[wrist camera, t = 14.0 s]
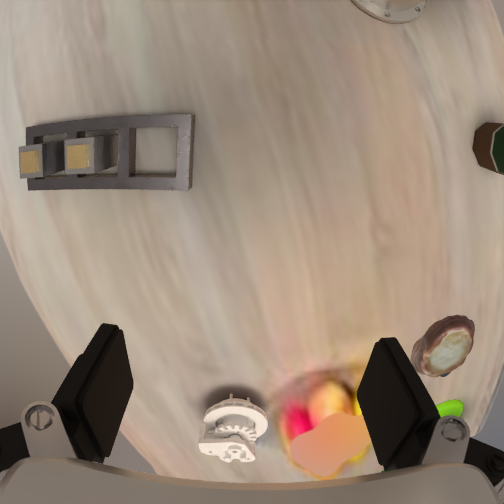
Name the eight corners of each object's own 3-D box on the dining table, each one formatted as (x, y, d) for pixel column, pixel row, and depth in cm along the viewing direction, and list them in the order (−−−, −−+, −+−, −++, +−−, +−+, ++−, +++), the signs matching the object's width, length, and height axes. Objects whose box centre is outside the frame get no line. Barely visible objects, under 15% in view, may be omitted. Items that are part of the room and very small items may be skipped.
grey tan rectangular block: (48, 141, 35) (16, 147, 28) (70, 139, 35) (39, 144, 28) (49, 169, 37) (17, 179, 30) (70, 168, 37) (40, 177, 30)
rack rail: (37, 186, 38) (28, 190, 35) (35, 126, 34) (26, 127, 32) (191, 187, 38) (188, 190, 36) (194, 115, 35) (191, 114, 33)
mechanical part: (275, 391, 52) (280, 444, 41) (252, 427, 56) (253, 476, 45) (213, 376, 50) (207, 431, 39) (197, 415, 54) (190, 465, 43)
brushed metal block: (91, 136, 35) (61, 140, 28) (118, 134, 36) (91, 137, 29) (91, 165, 37) (62, 175, 30) (117, 165, 37) (91, 174, 30)
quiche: (434, 392, 56) (441, 404, 52) (375, 370, 52) (381, 385, 48) (496, 319, 49) (506, 329, 45) (448, 280, 45) (460, 291, 41)
